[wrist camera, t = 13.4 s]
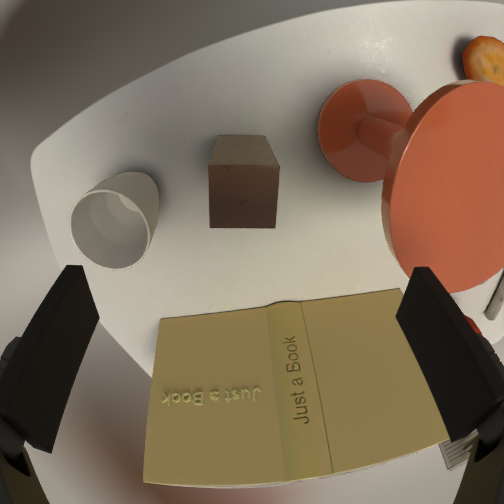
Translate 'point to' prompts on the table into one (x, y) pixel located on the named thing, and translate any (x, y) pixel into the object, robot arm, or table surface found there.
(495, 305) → the rod
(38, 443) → the robot arm
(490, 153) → the orange pedestal stand
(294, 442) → the book
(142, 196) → the cup
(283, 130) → the table surface
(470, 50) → the fruit
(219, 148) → the walnut block
